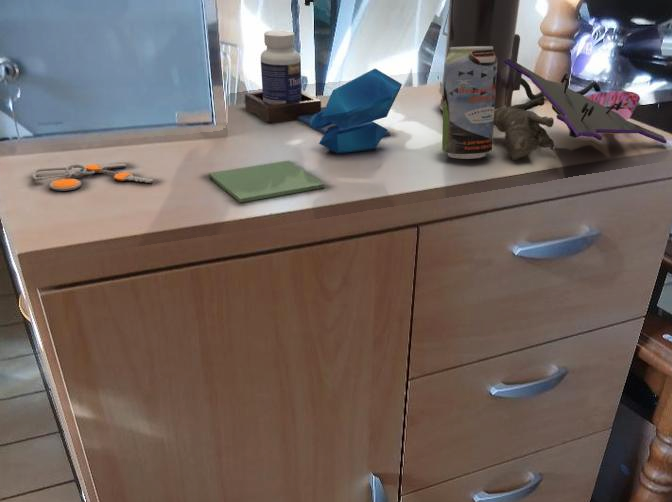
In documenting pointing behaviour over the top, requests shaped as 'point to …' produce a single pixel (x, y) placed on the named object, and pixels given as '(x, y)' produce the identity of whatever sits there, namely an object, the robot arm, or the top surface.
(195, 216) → the top surface
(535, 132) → the dog figurine
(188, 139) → the top surface
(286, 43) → the pill bottle
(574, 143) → the top surface
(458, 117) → the beverage can
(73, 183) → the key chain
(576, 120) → the toy airplane
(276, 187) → the mat
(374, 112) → the blue faceted sculpture
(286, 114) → the holder
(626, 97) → the headband
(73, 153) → the top surface
